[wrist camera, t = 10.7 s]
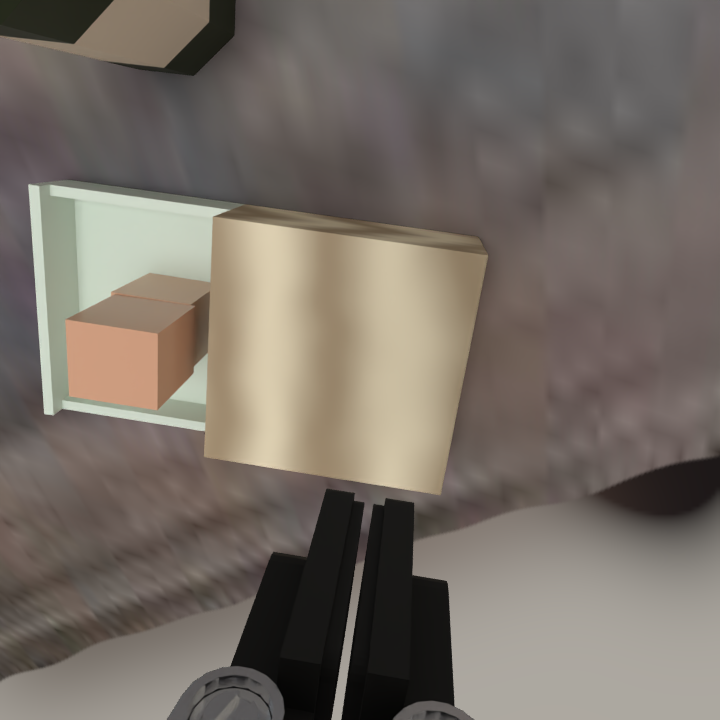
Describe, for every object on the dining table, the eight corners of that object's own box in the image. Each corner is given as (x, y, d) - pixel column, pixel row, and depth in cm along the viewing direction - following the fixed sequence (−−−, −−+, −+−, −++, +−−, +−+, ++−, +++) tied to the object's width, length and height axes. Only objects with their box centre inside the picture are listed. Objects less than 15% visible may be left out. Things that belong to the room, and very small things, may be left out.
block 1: (190, 304, 33) (110, 291, 33) (188, 372, 34) (111, 359, 35) (219, 283, 38) (149, 272, 38) (216, 344, 39) (148, 333, 39)
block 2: (157, 333, 28) (65, 319, 29) (157, 410, 30) (69, 396, 30) (195, 305, 33) (115, 293, 33) (193, 373, 34) (116, 361, 35)
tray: (245, 204, 36) (224, 212, 33) (234, 413, 41) (214, 441, 38) (68, 179, 37) (28, 184, 33) (78, 389, 42) (44, 413, 38)
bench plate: (478, 236, 36) (488, 255, 30) (438, 445, 41) (440, 495, 35) (245, 204, 36) (212, 216, 31) (234, 413, 41) (204, 456, 36)
